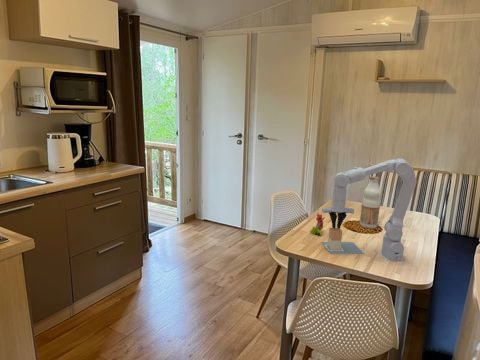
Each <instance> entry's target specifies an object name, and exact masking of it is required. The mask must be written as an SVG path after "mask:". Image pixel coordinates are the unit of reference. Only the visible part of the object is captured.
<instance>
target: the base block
mask: <svg viewBox="0 0 480 360" xmlns="http://www.w3.org/2000/svg"><path fill="white" fill-rule="evenodd" d="M327 240H328V241H327V242H328V247H329V248H330V249H331V250H340V248H341V242H342V240H341V241H332V240H331V239H330V238H329V237H328V238H327Z"/></svg>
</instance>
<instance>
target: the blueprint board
mask: <svg viewBox="0 0 480 360" xmlns="http://www.w3.org/2000/svg"><path fill="white" fill-rule="evenodd" d="M320 243H321V244H322V245H323V246H324V248H325V249H326V250H327V252H328V253H329V254H330V255H365V252H363V250H361V248H360V247H358V245H356V244H355V243H354V242H353V241H341V248H340V250H331V249H330V248H329V247H328V241H321V242H320Z"/></svg>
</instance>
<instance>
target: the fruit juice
mask: <svg viewBox="0 0 480 360" xmlns="http://www.w3.org/2000/svg"><path fill="white" fill-rule="evenodd" d="M368 180H369V181H368V183H367V185H366V187H365V188H364V189H363V198H362V201H361V208H360V209H361V210H360V217H359V218H360V219H359V226H360V225H361V226H360V227H362V228H365V229H371V230H372V229H377V228H378V223H379V217H380V208H381V200H380V199H381V197H382V190H381V188H380V184H379V181H380V177H378V176H371V175H370V176H369V178H368Z"/></svg>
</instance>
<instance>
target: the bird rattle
mask: <svg viewBox="0 0 480 360" xmlns="http://www.w3.org/2000/svg"><path fill="white" fill-rule="evenodd" d="M325 218H326V217H325V216H323V214H319V213H317V214H316V218H315V219H316V221H317V222H316V226H313V227H312V228H311V230H310V231H309V233H311V234H312V235H316V234H318V235H320V236H321V237H322V236H323V233H322V232H321V231H322V230H323V228H324V220H325Z"/></svg>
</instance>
